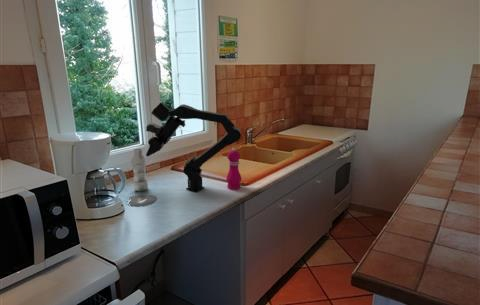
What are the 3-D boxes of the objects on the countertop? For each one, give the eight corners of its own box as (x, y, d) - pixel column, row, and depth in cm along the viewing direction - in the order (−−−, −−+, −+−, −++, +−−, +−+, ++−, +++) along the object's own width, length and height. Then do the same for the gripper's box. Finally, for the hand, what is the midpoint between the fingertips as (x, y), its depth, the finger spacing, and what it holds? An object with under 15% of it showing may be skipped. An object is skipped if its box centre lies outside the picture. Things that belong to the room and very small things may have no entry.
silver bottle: (151, 190, 151) (148, 149, 145) (138, 194, 146) (134, 152, 140) (143, 186, 155) (140, 146, 150) (131, 190, 150) (127, 149, 145)
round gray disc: (163, 198, 141) (163, 198, 141) (139, 209, 131) (139, 209, 131) (143, 192, 148) (143, 191, 148) (119, 201, 138) (119, 201, 138)
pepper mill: (233, 183, 159) (233, 145, 154) (244, 187, 155) (244, 147, 149) (223, 187, 154) (223, 147, 148) (234, 191, 149) (234, 150, 144)
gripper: (160, 113, 152) (141, 137, 155) (149, 120, 134) (128, 147, 137) (179, 128, 153) (160, 151, 157) (170, 136, 136) (149, 163, 139)
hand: (149, 153), depth 147 cm, fingers open, 9 cm apart
